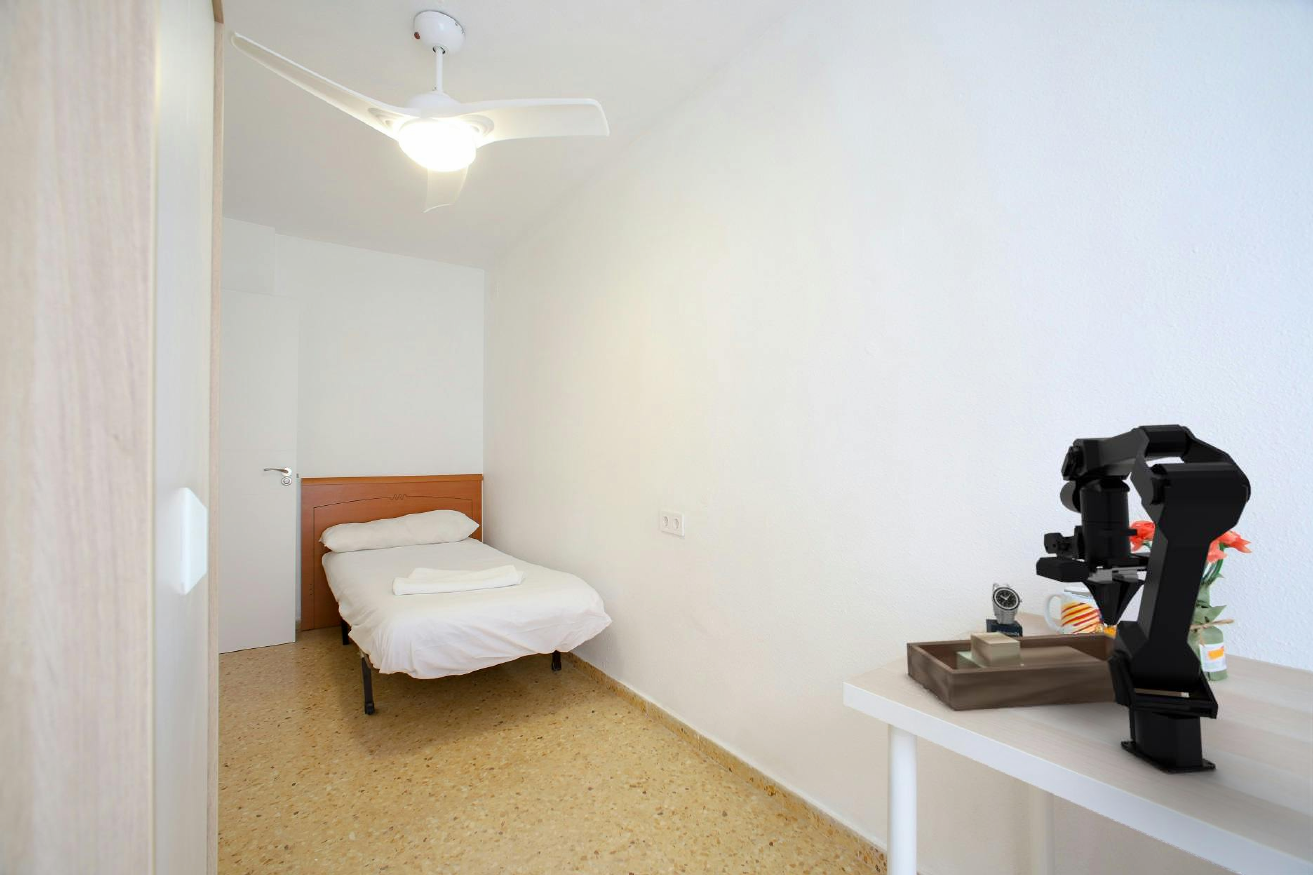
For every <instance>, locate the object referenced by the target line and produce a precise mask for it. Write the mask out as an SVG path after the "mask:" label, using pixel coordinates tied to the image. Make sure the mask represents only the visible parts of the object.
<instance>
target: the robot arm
mask: <svg viewBox="0 0 1313 875" xmlns="http://www.w3.org/2000/svg"><path fill="white" fill-rule="evenodd" d="M1167 458H1179V459H1180V460H1181V461H1182V462H1171V463H1170V462H1168V463H1167V462H1166V463H1164V462H1163V463H1162V462H1161V463H1159V462H1158V463H1155V464H1153V465H1152V466H1149V464H1148V462H1152V461H1157V460H1162V459H1167ZM1060 473H1061V476H1062V480H1063V481H1065V482H1066V483H1065V484H1064V485H1063V486H1062V487H1061V488H1060V489H1061V490H1060V492H1059V498H1060V502H1061V503H1062V505H1063V506H1064V508H1066V509H1067V510H1069V511H1071V512H1073V513H1076V514H1079V515H1080V517H1081V518H1080V521H1081V524H1080V525H1078V524H1076V525H1074V528H1073V535H1069V536H1064V535H1063V534H1062V532H1058V531H1057V532H1048V533H1045V534H1043V546H1044V549H1045V552H1046V554H1048V555H1053V554H1055V555H1056V556H1041V557H1039V559H1038V560H1036V563H1035V572H1036V573H1035V574H1036V576H1038V577H1039V576H1040V577H1042V578H1046V579H1049V580H1052V581H1053V580H1054V581H1056V582H1060V583H1065V584H1071V583H1072V584H1073V583H1075V584H1076V583H1082V584H1083V585H1084V586H1085V588H1088V590H1089V591H1090V593H1091V595H1092V596H1093V597H1092V599H1093V601H1094V602H1095V603H1096V605H1097V610H1099V612H1100V615H1101V617H1102V619H1103V621H1104V623H1105V624H1106V625H1108V626H1115V628H1116V629H1115V635H1114V636H1115V639H1114V641H1113V644H1114V647H1113V649H1111V650H1110V653H1109V658H1108V661H1107V664H1108V667H1109V671H1110V674H1111V678H1112V684H1113V689H1114V692H1115V701H1114V702H1115V703H1116V704H1117V705H1119V706H1123V707H1125V708H1127V709H1128V721H1129V722H1128V723H1129V737H1130V739H1131V740H1126V741H1125V740H1124V741H1120V746H1121V747H1122V748H1124V749H1125V750H1127V751H1128V752H1130V753H1131V754H1134V755H1135V756H1137V757H1139V758H1141V759H1142V760H1144V761H1146V762H1147V763H1149V764H1151V765H1153V766H1155V767H1156V768H1157V769H1159V770H1161V771H1162V772H1165V773H1180V772H1181V773H1182V772H1183V773H1184V772H1196V771H1210V770H1211V771H1212V770H1217V769H1216V767H1217V766H1216V764H1215V763H1214V762H1212V761H1210V760H1208V759H1206V758H1204V757H1203V744H1202V742H1203V741H1202V740H1203V739H1202V729H1201V728H1202V727H1201V718H1208V719H1210V720H1217V719H1218V713H1219V704H1218V701H1217V699H1216V697H1215V695H1214V692H1213V690H1212V688H1211V686H1210V683H1209V681H1208V679H1207V677H1206V675H1205V673H1204V671H1203V668H1202V662H1201V660H1200V658H1199V657H1198V656H1197V654H1196V652H1195V651H1194V649H1193V648H1192V646H1191V645H1190V644H1189V637H1190V636H1189V635H1190V632H1191V628H1192V624H1193V619H1194V615H1195V611H1196V607H1197V604H1198V603H1197V602H1198V599H1199V594H1200V590H1201V586H1202V584H1203V583H1202V582H1203V578H1204V575H1205V574H1204V573H1205V570H1206V566H1207V563H1208V558H1209V554H1210V553H1209V552H1210V550H1211V546H1212V544H1213V542H1215V541H1216V540H1217V539H1219V538H1220V537H1222V536H1224V534H1226V533H1228V532H1229V531H1231V530H1233V528H1235V527H1236V526H1238V523H1239V521H1240V519H1241V516H1242V515H1243V512H1244V510H1245V507H1246V505H1247V503H1248V502H1249V501H1250V499H1251V496H1252V495H1251V494H1252V486H1251V482H1250V480H1249V478H1248V476H1247V474H1245V472H1244V471H1243V469H1241V467H1240V466H1239V465H1238V464H1237V463H1236V461H1235V460H1234V459H1233V458H1232V456H1231V455H1230V454H1229V453H1228V452H1227V451H1225V450H1222V449H1220V448H1219V447H1216V446H1214V445H1213V444H1210V443H1208V442H1205V441H1204V440H1202V439H1200V438H1197V437H1196V436H1195V435H1194V433H1193V432H1192V431H1191V429H1190V428H1189V427H1188V426H1186V425H1180V424H1179V423H1178V424H1176V423H1173V424H1149V425H1147V424H1145V425H1139V426H1137V427H1133V428H1131V429H1130V431H1126V432H1123V433H1121V434H1120V433H1119V434H1117V435H1114V436H1111V437H1110V436H1109V437H1087V438H1086V437H1084V438H1083V437H1081V438H1080V437H1079V438H1076V439H1074V441H1073V442H1072V445H1069V447H1068V450H1067V453H1065V456H1064V459H1063V464H1062V465H1061V469H1060ZM1128 478H1129V481H1130V482H1131V483H1132V485H1133V487H1134V488H1135V490H1136V493H1137V494H1138V496H1139V497H1140V499H1141V500H1140V504H1141V506H1142V508H1143V510H1144V511H1145V512H1146V514H1147V515H1148V517H1149V518H1150V520H1151V521H1152V523H1153V524H1154V531H1153V536H1152V542H1151V546H1150V552H1149V551H1142V552H1132V542H1131V537H1138V535H1139V534H1138V528H1133V527H1130V525H1131V524H1130V511H1129V510H1130V509H1129V494H1128V493H1129V492H1130V491H1131V487H1130V486H1129V484H1128V483H1127V482H1125V481H1127V479H1128ZM1139 572H1140V573H1141V572H1142V573H1143V572H1146V573H1145V577H1144V579H1141V578H1139V574H1138V573H1139ZM1142 586H1143V588H1142V593H1141V600H1140V604H1139V608H1138V614H1137V618H1136V620H1120V619H1121V618H1122V616H1123V614H1124V613H1125V611H1126V609H1127V607H1128V606H1129V604H1130V603H1131V601H1132V600H1133V598H1134V597H1135V596H1136V595H1137V593H1138V592H1139V590H1140V588H1141V587H1142ZM1134 688H1136V689H1147V690H1159V691H1170V692H1181V693H1182V694H1188V696H1182V697H1181V696H1170V695H1159V694H1148V693H1137V692H1135V690H1134Z"/></svg>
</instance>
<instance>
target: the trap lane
mask: <svg viewBox="0 0 1313 875" xmlns="http://www.w3.org/2000/svg"><path fill="white" fill-rule="evenodd" d="M1115 636H1116V635H1112V634H1110V633H1107V632H1104V631H1102V632H1101V631H1098V632H1095V633H1077V634H1063V633H1062V634H1060V633H1059V634H1046V635H1045V634H1044V635H1043V634H1042V635H1027V636H1026V635H1025V636H1024V635H1023V637H1010V638H1012V639H1014V640H1017V641H1019V642H1020V657H1021V666H1006V667H989V668H988V667H986V666H985V665H983V664H981V663H980V662H978V661H976V660H975V659H973V658H972V654H971V638H969V639H956V640H955V639H953V640H939V641H938V640H935V641H934V640H933V641H918V642H906V660H907V662H906V663H907V676H909V677H911V679H913V680H914V679H915V680H916V681H915V680H914V681H915V682H917V683H918V684H919V685H920V686H922V687H923V686H924V687H925V688H924V687H923V688H924V689H926V690H927V689H928V690H929V691H928V690H927V691H928V692H930V693H931V694H932V693H933V694H934V695H933V694H932V695H933V696H935V697H936V696H937V697H938V698H937V697H936V698H937V699H938V700H940V701H941V700H942V701H943V702H942V701H941V702H942V703H944V704H945V705H946V706H948V707H949V708H950V709H951V710H952V711H954V712H957V711H958V712H959V711H975V710H989V709H991V710H992V709H1005V708H1006V709H1007V708H1021V707H1037V706H1052V705H1056V706H1057V705H1068V704H1085V703H1101V702H1115V692H1114V689H1113V684H1112V678H1111V674H1110V671H1109V667H1108V664H1107V661H1108V658H1109V653H1110V650H1111V649H1113V647H1114V644H1113V641H1114V639H1115ZM1134 690H1135V692H1137V693H1148V694H1159V695H1170V696H1181V697H1183V696H1182V695H1183V693H1181V692H1170V691H1159V690H1147V689H1136V688H1134Z"/></svg>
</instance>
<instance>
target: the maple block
mask: <svg viewBox="0 0 1313 875" xmlns="http://www.w3.org/2000/svg"><path fill="white" fill-rule="evenodd" d="M970 639H971V654H972V658H973V659H975V660H976V661H978V662H980V663H981V664H983V665H985V666H986V667H988V668H989V667H1006V666H1021V657H1020V642H1019V641H1017V640H1014V639H1012V638H1010V637H1008V636H1006V635H1004V634H1002V633H1000V632H994V633H987V632H980V633H970Z"/></svg>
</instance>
